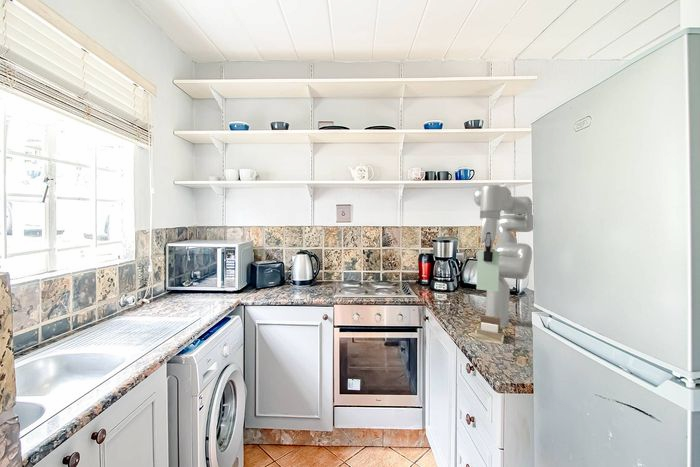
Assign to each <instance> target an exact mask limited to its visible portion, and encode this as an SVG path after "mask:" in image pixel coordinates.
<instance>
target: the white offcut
mask: <svg viewBox="0 0 700 467" xmlns="http://www.w3.org/2000/svg"><path fill="white" fill-rule="evenodd" d="M480 323H481V330H484V331H490V332H495V333H498V325H496V324H490V323H484V322H481V321H480Z"/></svg>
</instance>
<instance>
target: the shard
mask: <svg viewBox="0 0 700 467" xmlns="http://www.w3.org/2000/svg"><path fill="white" fill-rule="evenodd" d="M467 324H470V325H474V326H478V322H475V321H472V320H471V321H467Z"/></svg>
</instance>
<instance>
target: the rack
mask: <svg viewBox="0 0 700 467" xmlns="http://www.w3.org/2000/svg"><path fill="white" fill-rule="evenodd" d="M480 323H481V322H479V323H478V324H477V325H476V326H477V327H476V329H475V331H474V339H475V340H479V341H484V342H490V343H495V344H499V345H504V340H505V329H504V327H502V326H500V331H498V333H495V332H490V331H484V330H481V328H480Z"/></svg>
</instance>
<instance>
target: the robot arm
mask: <svg viewBox="0 0 700 467" xmlns="http://www.w3.org/2000/svg"><path fill="white" fill-rule="evenodd" d="M473 202H474V203H475V205H477V206H478V207H480V208H479V209H480V210H479V220H482V222H481V230H480V231H481V233H480V234H481V236H480V243H481V244H484V249H483V250H484V261H486V262H492V257H493V252H492V251H500V256H499V282H498V292H497V291H488V290H486V296H485V297H486V298H485V299H486V300H485V316H490V317H497V318H500V326H502V327H503V328H504V327H506V328H507V327H510V326H512V325H513V324H512V323H511V322H510V321H509V313H510V312H509V311H510V293H511V292H510V291H511V290H510V284H509V282H507V280H506V279H514V280H525V279H526V278H527V277H528V275H529V272H530V268H531V263H532V258H533V250H532V247H531V246H530V245H529V244H527V243H522V242H521V243H520V242H519V243H518V240H517V238H516V236H515V235H514V234H513V233H512V232H515V233H516V232H517V233H519V232H520V233H530V232H533V231H534V228H533V215H532V205H533V202H532V199H531V198H530V197H529V196H512V192H511V190H510V189H509V188H508V187H506V186H501V185H498V184H485V185H483V186H482V187H478V188H477V189H475V190H474V193H473ZM501 213H502V214H504V215H501ZM496 237H497V242H496ZM495 243H496V245H495V248H494V249H493V246H494V244H495Z"/></svg>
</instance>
